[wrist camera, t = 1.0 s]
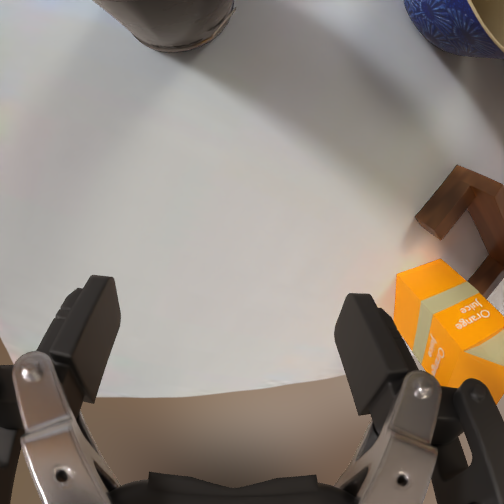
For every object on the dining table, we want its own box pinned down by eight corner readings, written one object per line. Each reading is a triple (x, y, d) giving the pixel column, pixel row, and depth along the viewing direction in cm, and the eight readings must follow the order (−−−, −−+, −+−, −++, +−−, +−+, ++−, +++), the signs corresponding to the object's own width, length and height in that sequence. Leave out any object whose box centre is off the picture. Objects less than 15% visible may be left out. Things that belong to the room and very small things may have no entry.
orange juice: (441, 257, 35) (539, 352, 18) (434, 307, 39) (509, 401, 22) (395, 274, 35) (490, 390, 17) (391, 324, 39) (462, 433, 22)
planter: (387, -49, 17) (445, -81, 7) (466, -7, 18) (527, -16, 9) (390, 38, 22) (462, 24, 13) (470, 73, 24) (538, 80, 14)
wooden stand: (465, 292, 39) (494, 322, 32) (414, 216, 32) (456, 246, 25) (498, 252, 37) (530, 277, 30) (457, 164, 29) (503, 184, 22)
